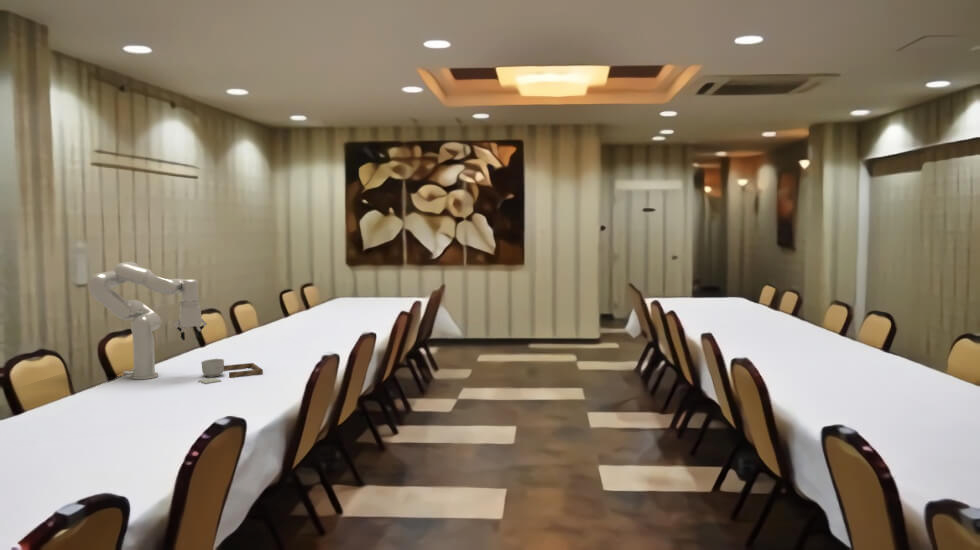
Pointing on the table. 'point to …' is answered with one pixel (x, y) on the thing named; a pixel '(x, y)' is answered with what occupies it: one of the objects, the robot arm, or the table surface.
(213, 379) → the coaster
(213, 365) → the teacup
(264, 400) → the table surface
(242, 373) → the bay
